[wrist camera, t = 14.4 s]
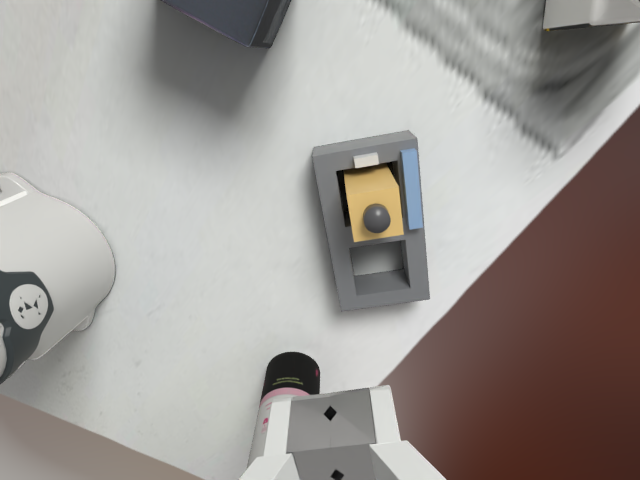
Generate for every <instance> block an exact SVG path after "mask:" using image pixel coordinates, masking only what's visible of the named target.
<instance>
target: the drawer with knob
mask: <svg viewBox="0 0 640 480" xmlns="http://www.w3.org/2000/svg"><path fill="white" fill-rule="evenodd" d="M343 171H344V179H345V187H346V195H347V202H348V208H349V214H350V220H351V226H352V233H353V239H354V242H359V241H365V240H372V239H378V238H385V237H391V236H398V235H404V232H403V223H402V213H401V203H400V194H399V186H398V185H397V183H396V181H395V179H394V177H393V175H392V173H391V171H390V170H389V168H388V166H387V164H386V162H385V163H379V164H378V165H372V166H366V167H360V168H350V169H344V170H343Z"/></svg>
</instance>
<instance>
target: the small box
mask: <svg viewBox="0 0 640 480" xmlns="http://www.w3.org/2000/svg"><path fill="white" fill-rule="evenodd" d="M161 1H163V2H165V3H166V4H168V5H170V6H172V7H173V8H175V9H177V10H178V11H180V12H182V13H184V14H185V15H187V16H189V17H191V18H193V19H195V20H197V21H199V22H200V23H202V24H204V25H206V26H208V27H210V28H212V29H213V30H215V31H217V32H219V33H221V34H223V35H224V36H226V37H228V38H230V39H232V40H234V41H236V42H238V43H240V44H242V45H244V46H246V47H260V48H270V47H271V46H272V43H273V41H274V39H275V37H276V34H277V32H278V30H279V27H280V25H281V23H282V21H283V18H284V16H285V13H286V11H287V9H288V6H289V4H290V2H291V0H161Z"/></svg>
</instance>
